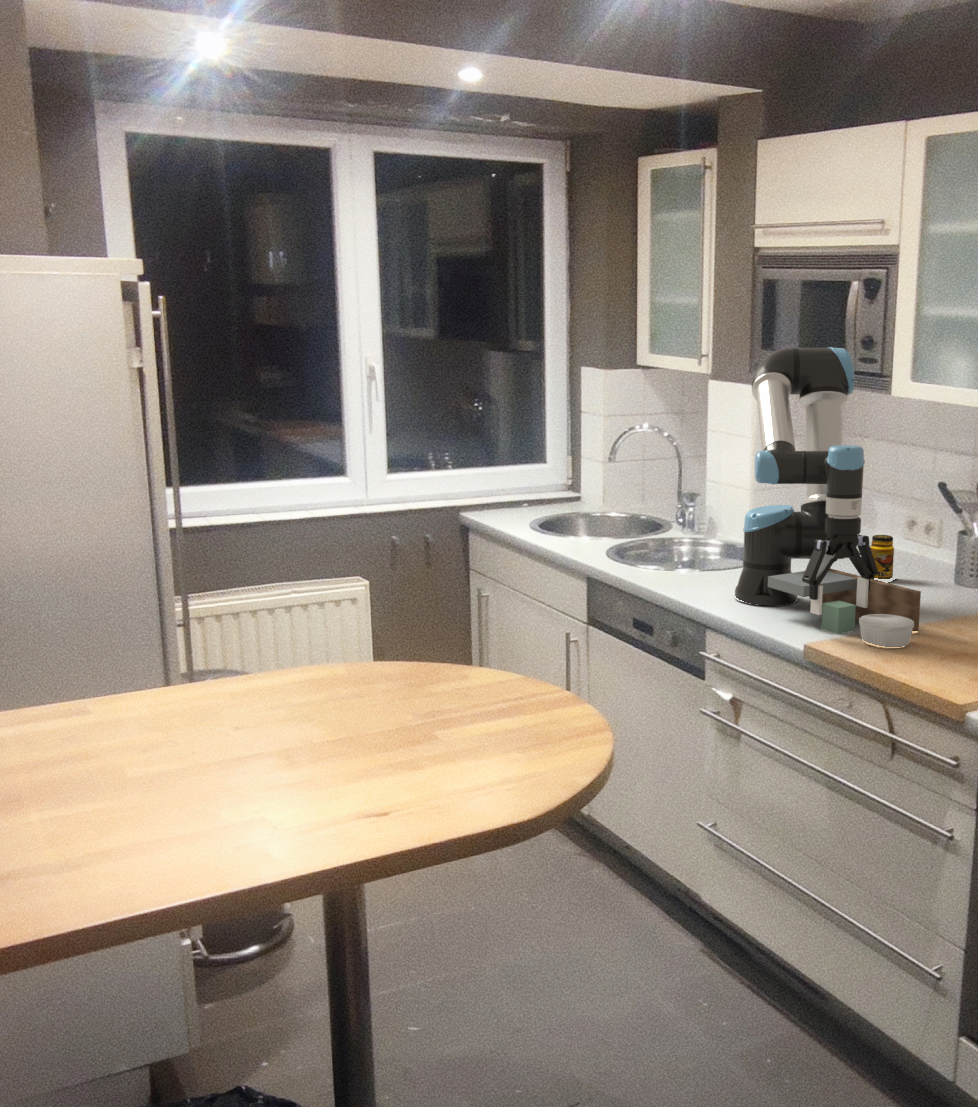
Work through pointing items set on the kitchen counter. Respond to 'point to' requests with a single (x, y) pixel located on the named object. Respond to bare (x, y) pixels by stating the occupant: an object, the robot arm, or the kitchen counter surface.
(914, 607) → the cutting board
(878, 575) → the condiment
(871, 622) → the ramekin
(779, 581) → the lid
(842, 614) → the block
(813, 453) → the robot arm
